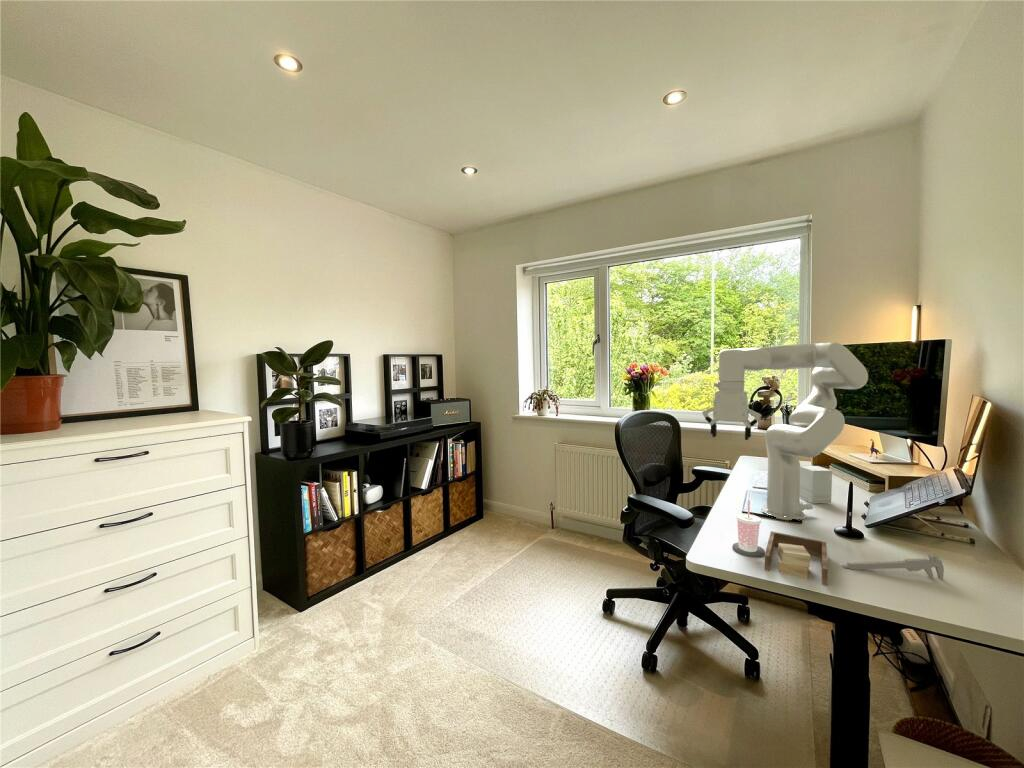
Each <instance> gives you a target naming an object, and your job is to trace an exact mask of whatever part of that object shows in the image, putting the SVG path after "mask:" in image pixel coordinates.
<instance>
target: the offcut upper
mask: <svg viewBox="0 0 1024 768" xmlns="http://www.w3.org/2000/svg"><path fill="white" fill-rule="evenodd" d="M777 548H778V549H777V551H778V552H777V554H778V556H779V559H780V558H781V560H782V562H783V563H784V564H789V565H796V566H803V567H809V568H811V554H809V553H808V552H807V550H806V549H805V548H804V546H799V545H791V544H782V543H778V547H777Z"/></svg>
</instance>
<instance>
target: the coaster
mask: <svg viewBox="0 0 1024 768" xmlns="http://www.w3.org/2000/svg"><path fill="white" fill-rule="evenodd" d="M732 550H733V551H734V552H736V553H737V554H739V555H742V556H745V557H750V558H762V557H765V552H766V549H765V548H763V547H761V546H759V545H758V546H757V551H755V552H748V551H744V550H742V549H740V548H739V544H738V542H735V543H733V544H732Z"/></svg>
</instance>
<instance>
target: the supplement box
mask: <svg viewBox="0 0 1024 768" xmlns="http://www.w3.org/2000/svg"><path fill="white" fill-rule="evenodd" d="M832 483H833V471H832V470H831V469H828V468H825V467H821V466H819V465H809V466H807V465H804V466H801V465H800V497H801V498H802V500H803V499H804V501H806V502H808V503H810V502H811V503H810V504H812V503H831V504H832V491H833V489H832V488H833V487H832V486H833V484H832ZM801 498H800V499H801Z"/></svg>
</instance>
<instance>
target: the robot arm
mask: <svg viewBox="0 0 1024 768" xmlns="http://www.w3.org/2000/svg"><path fill="white" fill-rule="evenodd" d="M811 368H813V370H812V372H811V374H810V382H811V383H810V384H811V391H810V394H809V395H808V396H807V398H806V399H805V400H804V401H803V402H801V404H800V405H798V406H797V407H796V408H795V409H794V410H793V411H791V413H790V415H789V416H788V423H789V424H787V423H777V424H776V423H775V424H772V425H771V426H769V427H768V428H767V430H766V431H765V433H764V434H765V435H764V441H765V446H766V452H767V453H766V454H767V481H766V482H767V486H766V487H767V488H766V505H764V506H762V507H761V511H762V510H763V511H764V512H766V513H768V514H771V515H772V516H774V517H776V518H775V519H777V520H783V521H789V520H790V521H791V520H792V519H800V520H799V521H802V520H804V519H805V516H806V515H805V513H804V512H803V511H805V510H813V504H812V503H803V501H801V502H800V499H801V498H800V466H801V463H800V460H799V457H802V458H814V457H817V456H819V455H820V454H821V453H822V452H823V451H824V450H826V449H827V447H829V446H830V445H831V444H832V443H833V442H834V441H835V440H836V439H837V438H838V437H839V436H840V435H841V433H842V432H843V430H844V427H845V417H844V414H843V413H842V412H841V411H840V410H838V409H837V405H838V402H837V397H836V396H835V391H834V389H840V390H841V389H843V390H858V389H861V388H863V387H864V386H866V384H867V383H868V381H869V373H868V371H867V368H866V367H865V366H864V364H862V362H861V361H860V360H859V359H858V358H857V357H856V355H854V354H853V353H852V351H850V350H849V349H848V348H847V347H846V346H844V345H843V344H841V343H839V342H835V341H834V342H815V343H814V342H813V343H810V342H809V343H796V344H779V345H778V344H777V345H772V346H762V347H750V348H730V349H729V348H728V349H727V348H725V349H721V350H720V351H719V354H718V381H717V382H713V387H714V388H717V390H715V393H714V398H713V406H712V407H710V408H708V409H705V410H703V411H702V412H701V413H702V416H703V417H704V418H705V419H704V420H705V421H706V422H707V423H709V426H710V435H712V438H716V437H717V430H718V429H717V422H720V421H722V422H733V423H734V422H735V423H736V422H737V423H743V424H744V425H745V428H744V440H746V441H748V440H749V439H750V438H751V436H752V427H753V426H755V425H756V424H757V423H758V421H760V419H761V417H762V414H761V413H759V412H756V411H754V410H753V409H750V408H749V398H748V394H747V391H746V390H745V371H746V372H761V371H764V370H775V371H776V370H777V371H779V370H780V371H782V370H783V371H784V370H785V371H786V370H799V369H811ZM710 413H712V417H710V415H709V414H710ZM749 414H750V415H751V416H754V418H753V420H751V421H750V420H749V416H750V415H749ZM712 418H713V419H712ZM798 456H799V457H798ZM765 506H767V507H765ZM784 516H786V517H784ZM791 522H792V521H791Z"/></svg>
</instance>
